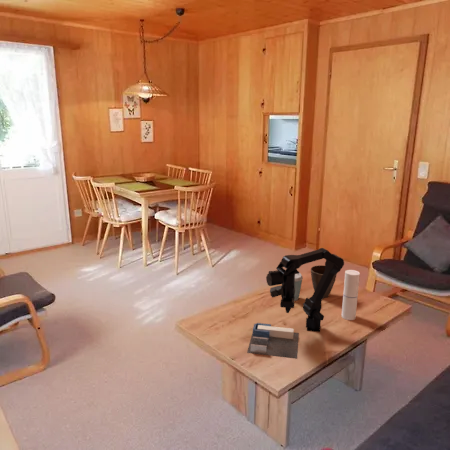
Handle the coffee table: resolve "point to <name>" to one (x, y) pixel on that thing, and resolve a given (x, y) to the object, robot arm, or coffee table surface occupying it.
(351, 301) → the cylindrical container
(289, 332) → the long cream bar
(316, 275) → the plant pot
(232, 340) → the coffee table surface
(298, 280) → the disposable coffee cup
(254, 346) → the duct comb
